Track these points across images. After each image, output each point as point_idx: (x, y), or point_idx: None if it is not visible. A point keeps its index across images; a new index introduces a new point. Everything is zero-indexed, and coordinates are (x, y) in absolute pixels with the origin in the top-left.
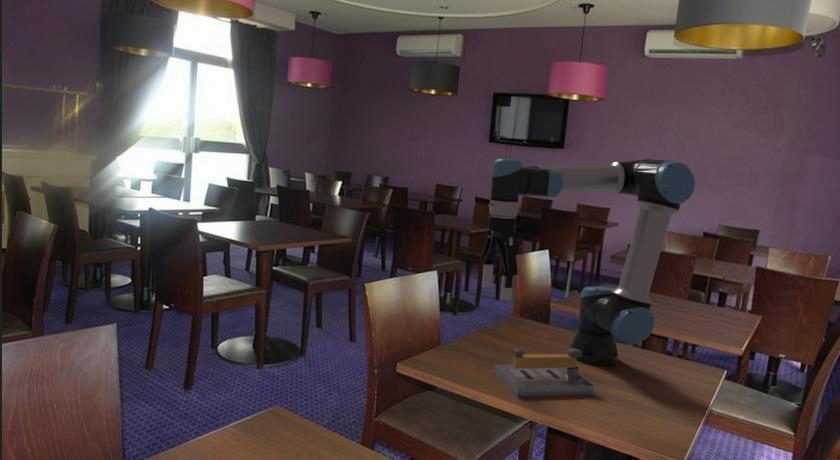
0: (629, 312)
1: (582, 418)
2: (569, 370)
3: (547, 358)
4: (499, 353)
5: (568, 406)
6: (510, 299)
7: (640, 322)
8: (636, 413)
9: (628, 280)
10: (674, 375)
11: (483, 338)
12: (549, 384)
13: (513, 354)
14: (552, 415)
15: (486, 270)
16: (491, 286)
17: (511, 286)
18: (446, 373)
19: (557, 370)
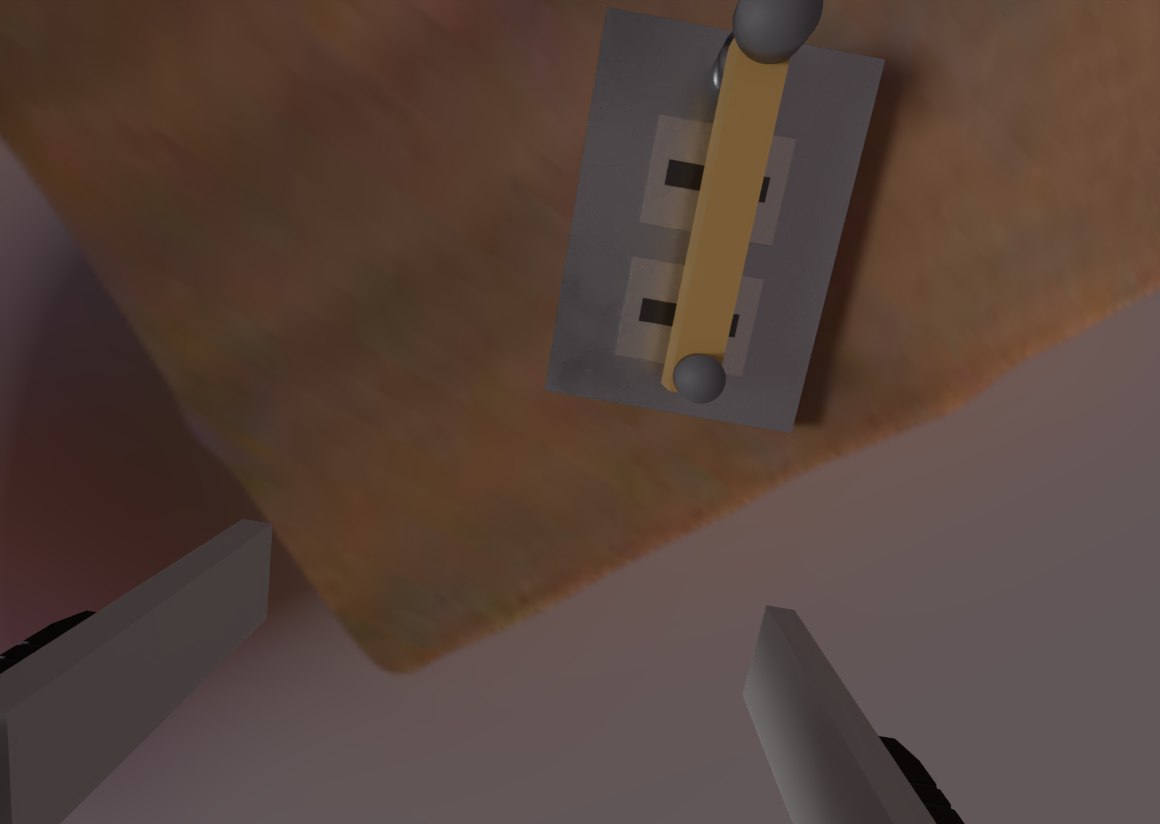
0: None
1: (1009, 287)
2: None
3: (752, 223)
4: (315, 209)
5: (909, 270)
6: (792, 614)
7: None
8: (1070, 10)
9: None
10: None
11: (90, 165)
12: (806, 276)
13: (669, 388)
14: (946, 385)
15: (111, 743)
16: (268, 530)
17: (915, 762)
18: (503, 567)
19: (683, 121)
